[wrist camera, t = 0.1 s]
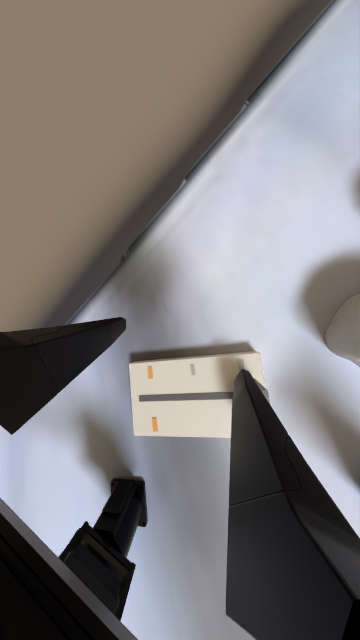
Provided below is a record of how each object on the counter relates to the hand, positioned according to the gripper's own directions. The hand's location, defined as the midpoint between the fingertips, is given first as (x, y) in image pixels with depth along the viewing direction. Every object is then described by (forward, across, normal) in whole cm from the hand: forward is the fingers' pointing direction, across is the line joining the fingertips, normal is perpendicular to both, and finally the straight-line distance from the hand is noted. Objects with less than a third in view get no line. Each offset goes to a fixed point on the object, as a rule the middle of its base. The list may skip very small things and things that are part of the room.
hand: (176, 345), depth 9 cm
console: (+8, -3, +15) cm, 18 cm away
